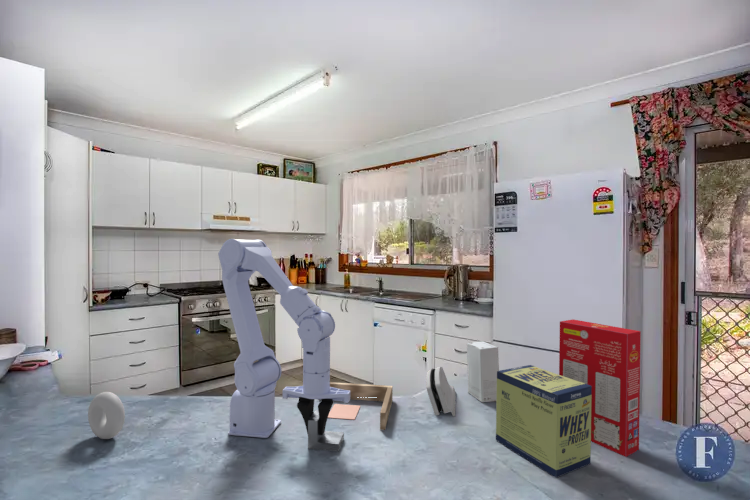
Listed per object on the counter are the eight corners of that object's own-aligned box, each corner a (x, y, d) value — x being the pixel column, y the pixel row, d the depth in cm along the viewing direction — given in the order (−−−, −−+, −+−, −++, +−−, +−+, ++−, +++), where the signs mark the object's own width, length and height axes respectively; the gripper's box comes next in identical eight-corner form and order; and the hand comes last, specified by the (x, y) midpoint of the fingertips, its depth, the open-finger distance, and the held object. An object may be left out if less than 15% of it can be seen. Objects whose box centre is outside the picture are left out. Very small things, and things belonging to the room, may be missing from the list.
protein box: (557, 479, 70) (558, 394, 69) (494, 440, 83) (495, 369, 83) (592, 464, 74) (593, 385, 74) (527, 430, 88) (528, 363, 88)
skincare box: (500, 401, 104) (500, 347, 104) (480, 403, 103) (481, 348, 103) (484, 390, 113) (484, 340, 112) (465, 392, 111) (466, 341, 111)
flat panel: (326, 417, 94) (326, 417, 94) (334, 404, 102) (334, 403, 102) (354, 419, 93) (354, 419, 93) (360, 406, 101) (360, 405, 101)
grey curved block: (455, 417, 94) (441, 378, 95) (437, 421, 95) (423, 383, 96) (455, 392, 111) (444, 359, 111) (440, 396, 112) (428, 363, 112)
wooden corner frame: (297, 423, 91) (297, 406, 90) (318, 395, 108) (318, 381, 108) (385, 430, 88) (385, 412, 88) (392, 400, 105) (392, 385, 105)
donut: (128, 439, 83) (128, 393, 83) (112, 446, 80) (112, 399, 79) (101, 429, 87) (101, 386, 87) (84, 436, 84) (84, 391, 84)
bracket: (307, 448, 79) (308, 420, 79) (315, 436, 84) (315, 409, 84) (338, 451, 78) (338, 422, 78) (343, 439, 83) (343, 412, 83)
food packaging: (638, 449, 80) (640, 331, 80) (625, 456, 77) (627, 334, 77) (571, 421, 92) (572, 319, 92) (558, 426, 90) (559, 321, 90)
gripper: (353, 365, 84) (353, 426, 85) (290, 362, 86) (290, 421, 87) (346, 376, 77) (346, 442, 78) (278, 372, 79) (278, 437, 80)
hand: (316, 432), depth 82 cm, fingers closed on bracket
